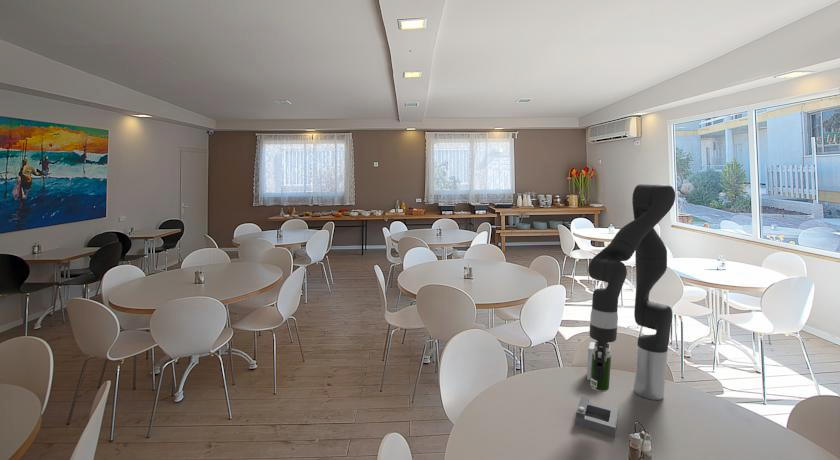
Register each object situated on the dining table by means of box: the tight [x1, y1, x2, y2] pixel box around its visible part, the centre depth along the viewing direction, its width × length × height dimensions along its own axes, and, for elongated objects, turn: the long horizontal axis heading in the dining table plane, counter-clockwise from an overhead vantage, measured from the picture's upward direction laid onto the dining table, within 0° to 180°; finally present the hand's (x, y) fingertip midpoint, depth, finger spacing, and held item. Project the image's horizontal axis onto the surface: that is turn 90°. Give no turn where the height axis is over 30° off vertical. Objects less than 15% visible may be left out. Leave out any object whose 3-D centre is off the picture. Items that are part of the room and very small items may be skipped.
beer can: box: [589, 349, 612, 393], centre depth 120 cm, size 5×5×12 cm
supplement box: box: [586, 341, 611, 381], centre depth 150 cm, size 7×7×13 cm
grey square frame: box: [575, 395, 619, 438], centre depth 122 cm, size 11×11×5 cm
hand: (600, 375), depth 121 cm, fingers closed on beer can, 5 cm apart
